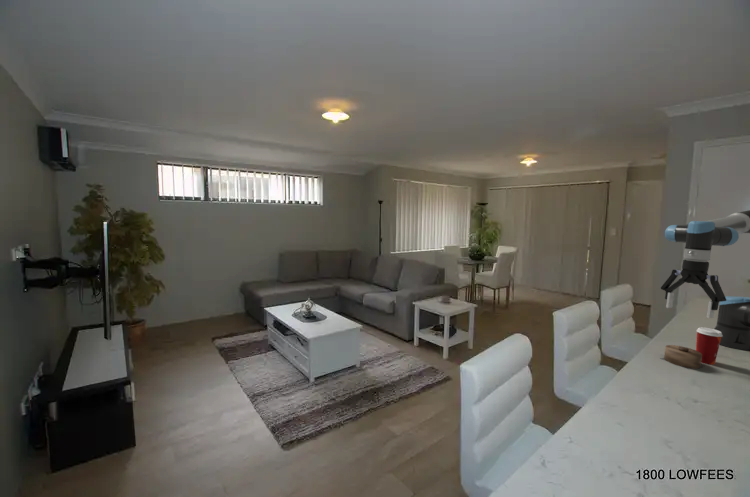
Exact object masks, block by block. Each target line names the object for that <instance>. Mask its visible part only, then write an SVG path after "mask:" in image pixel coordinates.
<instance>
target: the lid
mask: <svg viewBox="0 0 750 497" xmlns="http://www.w3.org/2000/svg"><path fill="white" fill-rule="evenodd" d="M663 358H664V359H665V360H666V361H665V360H664V361H665V362H668V363H670V364H672V365H676V366H679V367H681V366H682V367H681V368H683V367H686V368H693V369H700V368H702V367H701V365H702V363H701V360H702V354H701V353H700V352H698V351H696V349H693V348H689V347H687V346H682V345H675V344H674V345H673V344H667V345H666V346H665V348H664V356H663ZM686 368H685V369H686Z"/></svg>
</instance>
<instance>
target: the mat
mask: <svg viewBox="0 0 750 497" xmlns="http://www.w3.org/2000/svg"><path fill="white" fill-rule="evenodd" d="M659 359H660V360H663V361H665V362H667V361H666V360H665V359H664V357H660V358H659ZM680 367H681V368H684V369H686V370H692V369H693V368H686V367H682V366H680ZM704 367H705V366H704V365H702V364H701V367H700V368H704Z"/></svg>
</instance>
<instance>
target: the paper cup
mask: <svg viewBox="0 0 750 497" xmlns="http://www.w3.org/2000/svg"><path fill="white" fill-rule="evenodd" d="M695 331H696V343H695V344H696V345H695V350H696V351H698V352H700V353H701V354H702V360H701V364H706V365H716V360H717V356H718V352H719V349H720V340H721V337H722V336H723V335H722V333H721V332H720V331H718V330H715V329H714V328H709V327H704V326H703V327H702V326H700V327H698V328H697V329H696V330H695Z"/></svg>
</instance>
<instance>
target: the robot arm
mask: <svg viewBox="0 0 750 497" xmlns="http://www.w3.org/2000/svg"><path fill="white" fill-rule="evenodd" d="M742 234H750V210H749V209H747V210H745V211H744V210H742V211H738V212H734V213H731V214H729V215H727V216H725V217H719V218H715V219H709V220H703V221H702V220H691V221H690V222H689V223H687V224H671V225H669V226H667V227H666V229H665V230H664V237H665V239H666V240H667V241H669V242H673V243H674V242H675V243H685V246H684V252H683V258H684V259H683V260H682V266H681V270H680V269H679V268H678V269H672V270H671V272H670V276H669V277H668V278H667V279H666V280H665V281H664V283H663V284H662V286H661V287H660V289H661V290H662V291H664V292H665V297H664V299H665V300H666V305H665V308H666V309H672V308H673V304H674V296H675V292H674V291H675V290H676V289H678V288H679V287H680V286H682V285H684V284H686V283H688V284H693V285H699V287H701V288H702V290H703V291H704V292H705V293H706V295H707V296H708V298H709V299H710V300H709V301H708V306H707V313H706V318H707V319H714V315H715V311H718V313H717V321H716V325H715V327H714V328H713V329H715V330H718V331H720V332H721V333H722V335H723V336H722V337H721V340H720V345H721V346H724V347H727V348H732V349H736V350H744V351H750V297H749V296H748V297H747V296H737V295H735V296H734V295H732V296H731V295H730V296H729V295H726V296H725V293H724V291H723V290H722V286H721V285H720V283H719V276H718V275H717V274H714V275H712V274H711V275H710V274H708V272H709V267H710V262H709V261H710V260H711V254H712V247H713V246H716V247H717V246H720V247H727V246H732V245H734V244H736V243H737V241H738V240H739V237H740V235H742ZM679 276H681V277H680V278H679V279H678V280H676V279H677V278H678V277H679ZM707 279H708V281H709V282H710V285H711V286H712V288H711V287H710V285H709V282H707ZM675 280H676V282H674V281H675ZM720 345H719V346H720Z"/></svg>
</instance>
